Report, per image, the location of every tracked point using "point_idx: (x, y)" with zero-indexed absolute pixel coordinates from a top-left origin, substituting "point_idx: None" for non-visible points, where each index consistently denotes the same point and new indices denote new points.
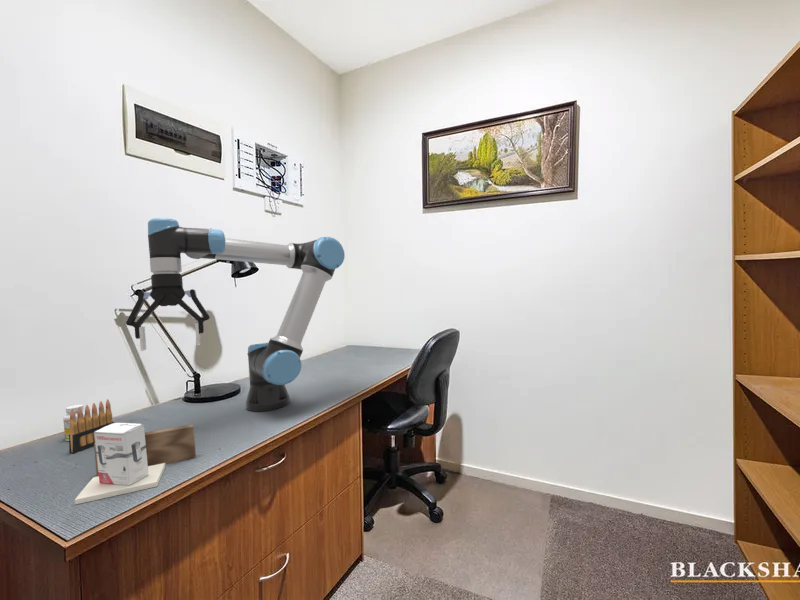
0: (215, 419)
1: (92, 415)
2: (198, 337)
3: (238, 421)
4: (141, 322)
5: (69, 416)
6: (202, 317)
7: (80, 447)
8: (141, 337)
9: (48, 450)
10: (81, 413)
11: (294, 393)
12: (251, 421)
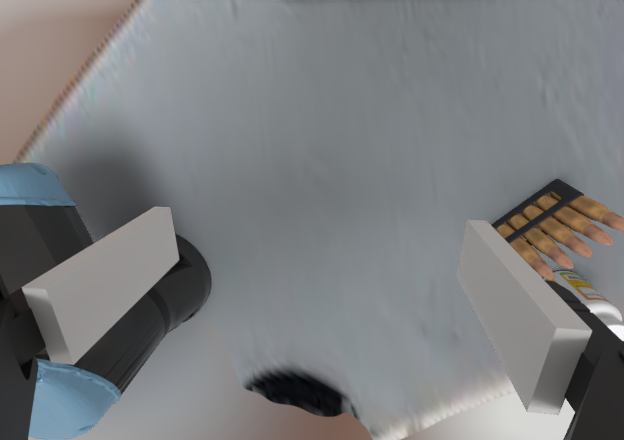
0: (271, 238)
1: (556, 246)
2: (125, 226)
3: (216, 191)
4: (600, 382)
5: (609, 308)
6: None
7: (547, 190)
8: (516, 266)
9: (610, 236)
10: (593, 230)
11: None
12: (186, 173)
